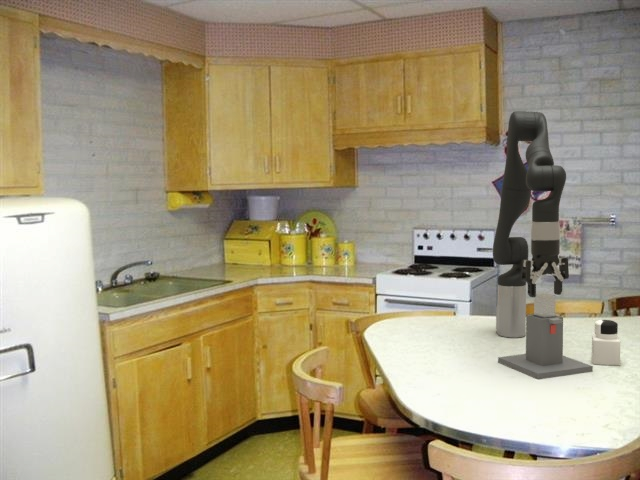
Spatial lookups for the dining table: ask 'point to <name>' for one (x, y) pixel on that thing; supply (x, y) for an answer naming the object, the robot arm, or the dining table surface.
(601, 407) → the dining table surface
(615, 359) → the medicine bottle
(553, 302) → the steel column
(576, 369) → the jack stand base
